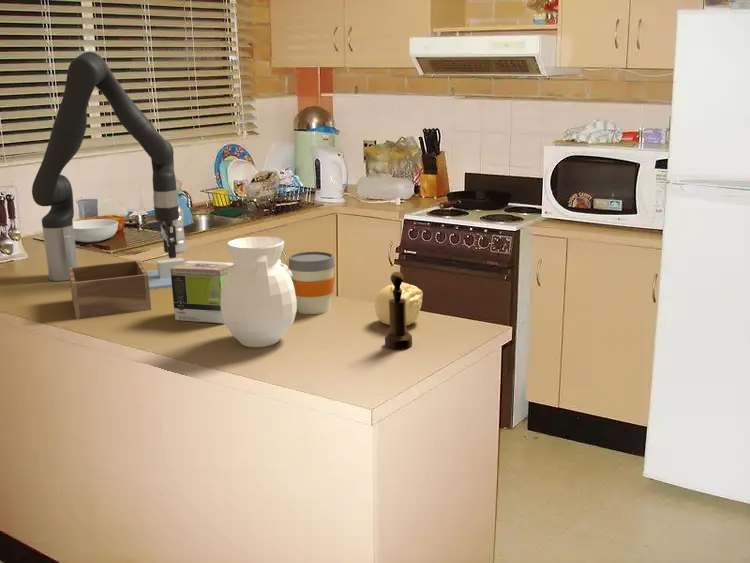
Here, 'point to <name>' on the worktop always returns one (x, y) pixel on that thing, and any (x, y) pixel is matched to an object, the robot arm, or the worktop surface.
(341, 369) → the worktop surface
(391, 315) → the dark brown tall piece
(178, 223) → the plastic bottle
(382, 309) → the sculpture
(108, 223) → the serving bowl
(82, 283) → the box
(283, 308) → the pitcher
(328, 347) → the worktop surface
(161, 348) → the worktop surface
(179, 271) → the tea box
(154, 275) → the lid
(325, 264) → the reusable coffee cup
